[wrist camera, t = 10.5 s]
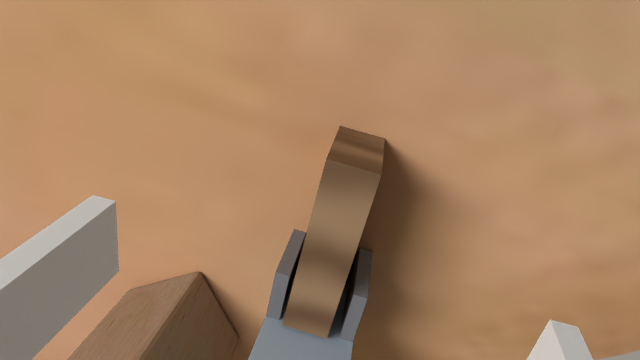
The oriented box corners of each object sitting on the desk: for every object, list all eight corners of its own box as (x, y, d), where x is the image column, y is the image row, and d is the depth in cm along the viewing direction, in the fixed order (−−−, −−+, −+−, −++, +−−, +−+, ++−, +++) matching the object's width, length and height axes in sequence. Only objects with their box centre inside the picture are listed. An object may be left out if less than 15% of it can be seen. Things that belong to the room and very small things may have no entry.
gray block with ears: (293, 229, 42) (237, 358, 28) (372, 251, 42) (358, 395, 27) (274, 312, 47) (218, 460, 32) (345, 333, 47) (321, 493, 32)
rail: (339, 125, 37) (325, 158, 30) (386, 138, 37) (383, 175, 30) (300, 269, 44) (281, 324, 37) (339, 281, 44) (327, 339, 37)
